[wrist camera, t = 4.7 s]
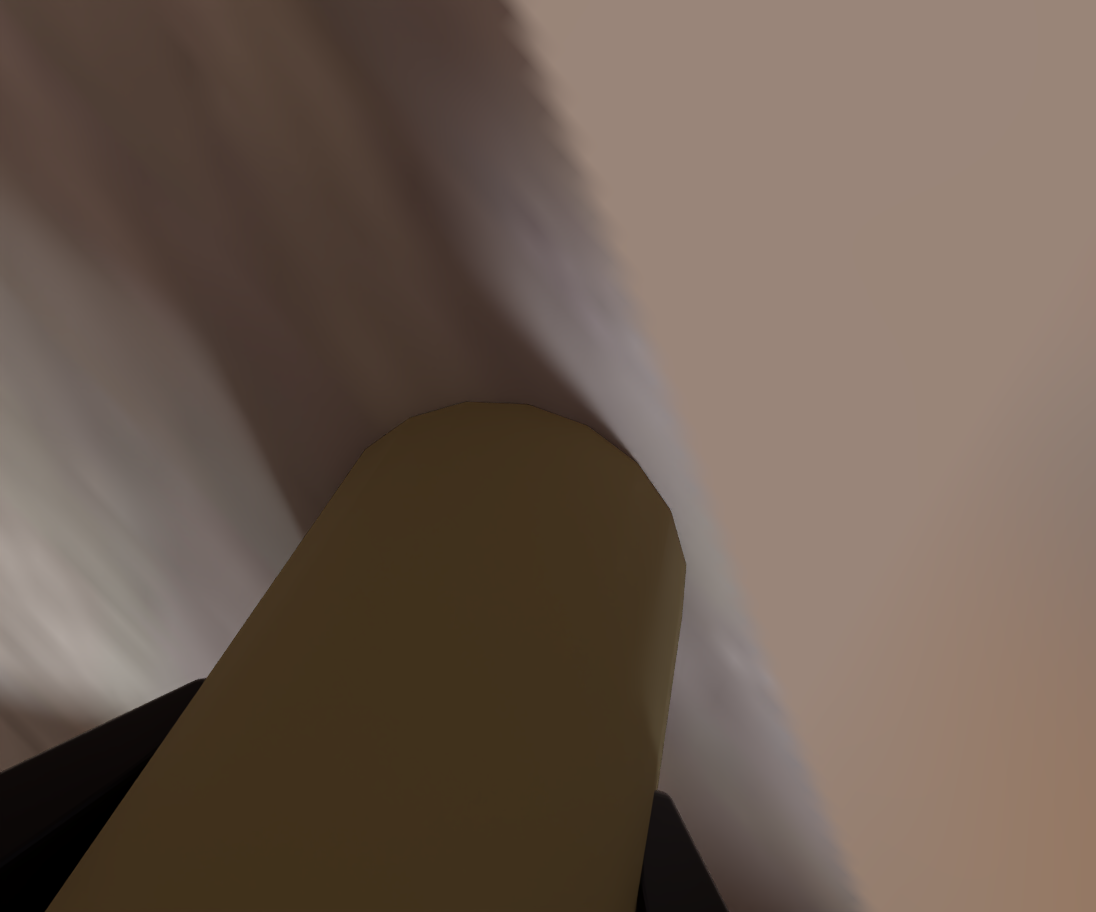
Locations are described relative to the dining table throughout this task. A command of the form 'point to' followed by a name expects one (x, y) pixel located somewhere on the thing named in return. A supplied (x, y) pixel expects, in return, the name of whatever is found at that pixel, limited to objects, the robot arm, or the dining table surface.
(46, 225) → the dining table surface
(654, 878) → the robot arm
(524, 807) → the olive tall rounded piece
